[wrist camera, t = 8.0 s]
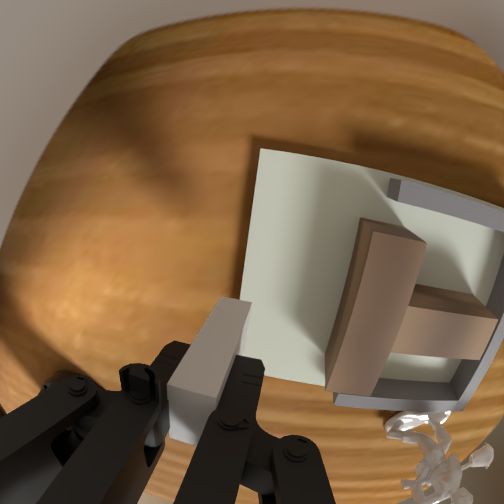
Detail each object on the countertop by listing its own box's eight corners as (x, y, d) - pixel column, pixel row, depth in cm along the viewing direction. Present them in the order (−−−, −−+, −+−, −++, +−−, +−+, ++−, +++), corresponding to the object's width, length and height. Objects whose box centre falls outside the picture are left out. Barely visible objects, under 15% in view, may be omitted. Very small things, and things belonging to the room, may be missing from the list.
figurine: (381, 412, 22) (397, 526, 11) (472, 380, 20) (519, 476, 9) (385, 441, 23) (396, 541, 12) (468, 412, 21) (502, 501, 9)
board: (233, 360, 23) (222, 387, 20) (263, 149, 18) (253, 145, 15) (452, 388, 20) (463, 413, 17) (519, 215, 16) (545, 224, 12)
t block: (324, 354, 20) (325, 391, 17) (360, 217, 17) (373, 231, 14) (440, 367, 19) (456, 399, 15) (487, 247, 16) (517, 266, 12)
